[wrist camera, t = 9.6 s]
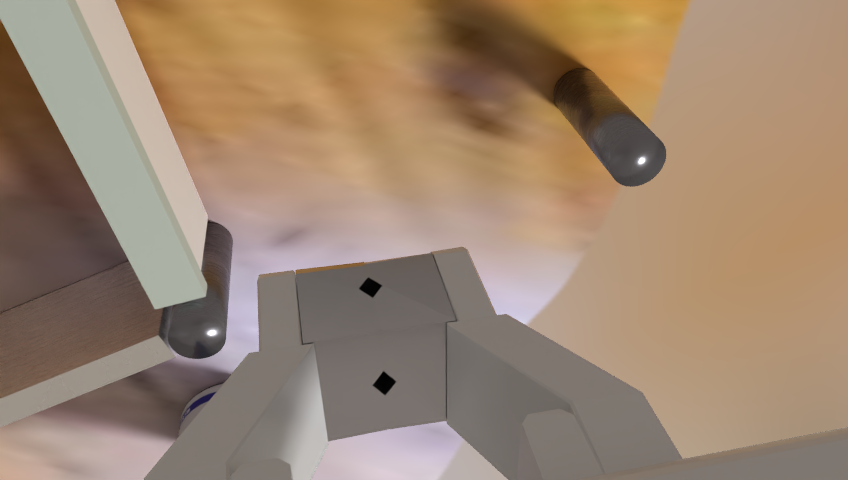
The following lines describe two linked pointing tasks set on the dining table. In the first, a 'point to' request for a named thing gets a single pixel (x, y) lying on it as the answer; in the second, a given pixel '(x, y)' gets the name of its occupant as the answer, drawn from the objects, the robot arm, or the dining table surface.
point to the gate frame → (224, 285)
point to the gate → (116, 137)
